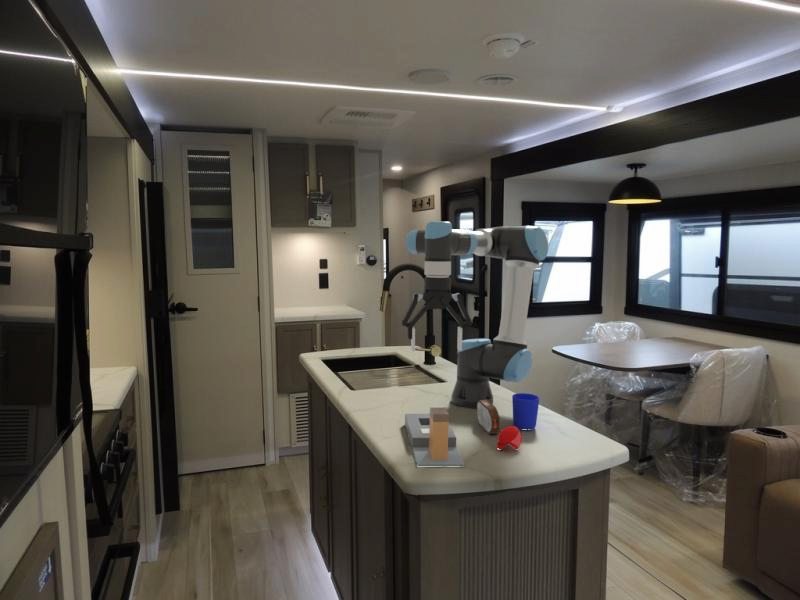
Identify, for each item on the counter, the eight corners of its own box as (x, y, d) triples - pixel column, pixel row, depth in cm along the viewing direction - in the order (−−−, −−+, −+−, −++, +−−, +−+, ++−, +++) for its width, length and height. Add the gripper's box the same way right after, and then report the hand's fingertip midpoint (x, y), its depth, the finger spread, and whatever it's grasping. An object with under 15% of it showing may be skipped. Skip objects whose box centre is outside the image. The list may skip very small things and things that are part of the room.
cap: (512, 430, 156) (497, 421, 154) (526, 429, 151) (511, 420, 149) (505, 457, 152) (489, 448, 150) (520, 457, 148) (504, 448, 146)
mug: (540, 422, 175) (541, 391, 174) (536, 433, 164) (538, 401, 163) (514, 419, 178) (515, 389, 177) (509, 430, 166) (510, 398, 166)
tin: (500, 437, 160) (501, 409, 159) (490, 438, 159) (491, 410, 158) (484, 421, 174) (485, 396, 174) (474, 422, 174) (475, 396, 173)
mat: (455, 449, 149) (455, 447, 149) (464, 467, 137) (465, 464, 137) (412, 450, 148) (412, 447, 148) (417, 467, 136) (417, 464, 136)
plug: (443, 451, 145) (444, 407, 144) (447, 459, 139) (448, 414, 138) (428, 451, 145) (430, 407, 144) (432, 459, 139) (433, 414, 138)
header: (442, 424, 171) (442, 412, 170) (455, 449, 149) (456, 436, 148) (404, 424, 169) (405, 413, 169) (412, 450, 148) (412, 437, 147)
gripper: (477, 275, 159) (475, 347, 161) (392, 275, 156) (392, 348, 158) (484, 277, 151) (482, 352, 153) (395, 277, 148) (394, 353, 151)
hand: (436, 350), depth 156 cm, fingers open, 13 cm apart
